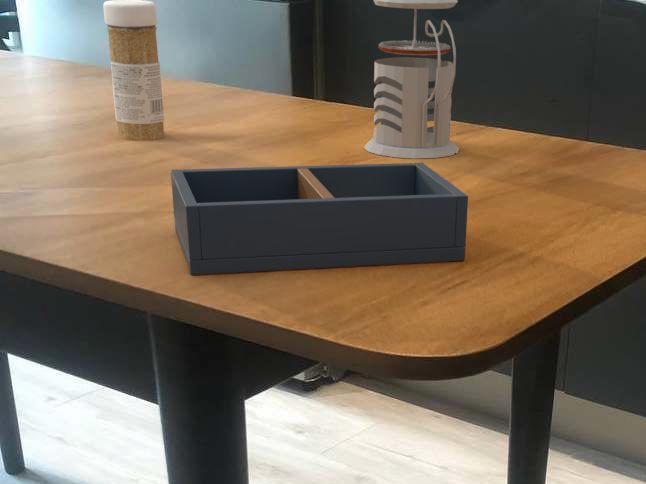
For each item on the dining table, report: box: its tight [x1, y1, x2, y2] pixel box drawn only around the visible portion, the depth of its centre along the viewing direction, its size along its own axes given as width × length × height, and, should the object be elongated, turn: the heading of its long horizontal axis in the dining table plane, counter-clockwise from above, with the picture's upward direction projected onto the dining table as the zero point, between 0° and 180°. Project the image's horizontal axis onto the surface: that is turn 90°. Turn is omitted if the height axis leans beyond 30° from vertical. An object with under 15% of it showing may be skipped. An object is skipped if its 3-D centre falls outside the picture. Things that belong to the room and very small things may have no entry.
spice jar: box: [102, 0, 165, 142], centre depth 100 cm, size 5×5×13 cm
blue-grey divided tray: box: [170, 162, 469, 276], centre depth 77 cm, size 19×11×4 cm, turn 106°
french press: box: [363, 0, 460, 159], centre depth 104 cm, size 10×12×25 cm
